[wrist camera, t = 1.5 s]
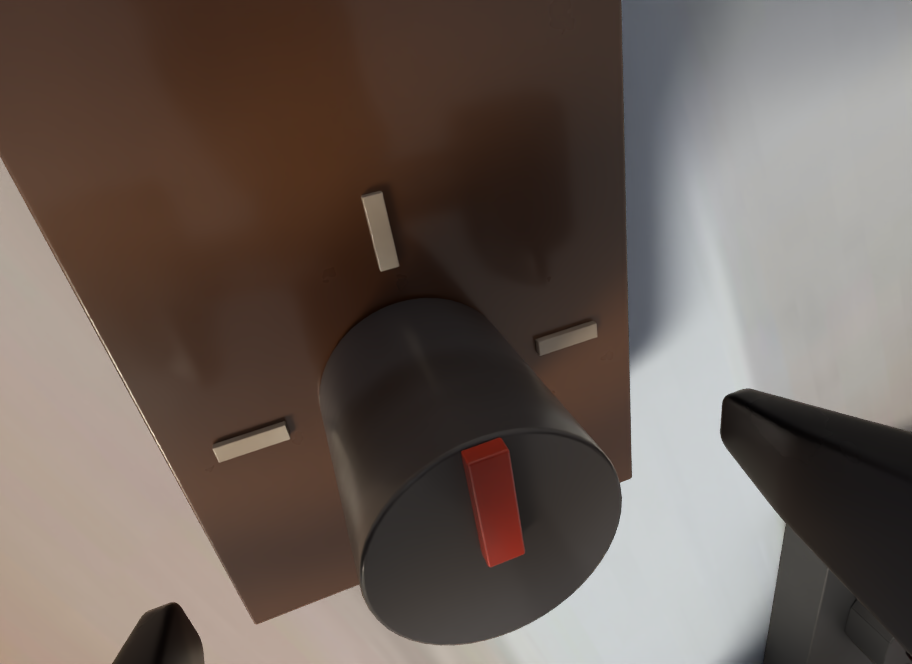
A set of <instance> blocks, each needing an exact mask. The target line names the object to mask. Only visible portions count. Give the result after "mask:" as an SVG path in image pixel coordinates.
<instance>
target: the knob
mask: <svg viewBox="0 0 912 664" xmlns="http://www.w3.org/2000/svg"><path fill="white" fill-rule="evenodd" d="M319 400H320V410H321V414H322V419H323V423H324V428H325V432H326V437H327V441H328V446H329V450H330V455H331V459H332V463H333V468H334V472H335V477H336V481H337V486H338V490H339V495H340V499H341V504H342V508H343V513H344V517H345V522H346V526H347V531H348V535H349V540H350V544H351V549H352V553H353V558H354V562H355V567H356V571H357V576H358V580H359V584H360V588H361V592H362V596H363V598H364V600H365V602H366V604H367V606H368V608H369V609H370V611H371V612H372V613H373V615H374V616H375V617H376V618H377V619H378V621H380V622H381V623H382V624H383V625H384V626H385V627H386V628H388V629H389V630H391V631H392V632H394V633H396V634H397V635H399V636H402V637H404V638H407V639H409V640H412V641H416V642H420V643H424V644H432V645H461V644H470V643H475V642H480V641H485V640H488V639H492V638H495V637H499V636H502V635H504V634H507V633H510V632H512V631H515V630H517V629H519V628H521V627H523V626H525V625H527V624H530V623H531V622H533V621H535V620H537V619H538V618H540V617H542V616H544V615H545V614H547V613H548V612H549V611H551V610H552V609H554V608H555V607H557V606H558V605H559V604H561V603H562V602H563V601H564V600H566V599H567V598H568V597H569V596H571V595H572V594H573V593H574V592H575V591H576V590H577V589H578V588H579V587H580V586H581V585H582V584H583V583H584V582H585V581H586V580H587V578H588V577H589V576H590V575H591V574H592V573H593V571H594V570H595V569H596V567H597V566H598V565H599V563H600V562H601V560H602V559H603V557H604V555H605V554H606V552H607V551H608V549H609V547H610V545H611V542H612V540H613V538H614V536H615V533H616V530H617V527H618V524H619V519H620V514H621V503H622V496H621V488H620V482H619V479H618V476H617V473H616V470H615V468H614V466H613V464H612V463H611V461H610V459H609V458H608V457H607V456H606V454H605V453H604V452H603V451H602V450H601V448H600V447H599V446H598V445H597V444H596V443H595V441H594V440H593V439H592V438H591V437H590V436H589V435H588V433H587V432H586V431H585V430H584V429H583V428H582V427H581V425H580V424H579V423H578V422H577V421H576V420H575V418H574V417H573V416H572V415H571V414H570V413H569V412H568V410H567V409H566V408H565V407H564V406H563V405H562V404H561V402H560V401H559V400H558V399H557V398H556V397H555V395H554V394H553V393H552V392H551V391H550V390H549V389H548V387H547V386H546V385H545V384H544V383H543V382H542V380H541V379H540V378H539V377H538V376H537V375H536V374H535V372H534V371H533V370H532V369H531V368H530V367H529V366H528V364H527V363H526V362H525V361H524V360H523V359H522V357H521V356H520V355H519V354H518V353H517V352H516V351H515V349H514V348H513V347H512V346H511V345H510V344H509V343H508V341H507V340H506V339H505V338H504V337H503V336H502V334H501V333H500V332H499V331H498V330H497V329H496V328H495V326H494V325H493V324H492V323H491V322H490V321H489V320H488V319H487V318H486V317H485V316H483V315H482V314H481V313H479V312H478V311H476V310H475V309H473V308H471V307H469V306H467V305H464V304H462V303H459V302H455V301H452V300H447V299H440V298H419V299H411V300H406V301H402V302H398V303H395V304H392V305H389V306H387V307H384V308H382V309H380V310H378V311H376V312H374V313H372V314H371V315H369V316H368V317H366V318H365V319H363V320H362V321H360V322H359V323H358V324H357V325H356V326H354V327H353V328H352V329H351V330H350V331H349V332H348V333H347V334H346V335H345V336H344V337H343V338H342V339H341V341H340V342H339V344H338V345H337V346H336V348H335V349H334V351H333V352H332V354H331V356H330V358H329V360H328V361H327V364H326V366H325V369H324V372H323V375H322V379H321V384H320V394H319Z"/></svg>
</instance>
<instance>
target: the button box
mask: <svg viewBox="0 0 912 664" xmlns="http://www.w3.org/2000/svg"><path fill="white" fill-rule="evenodd" d="M763 664H912V656H911V655H910V654H909V653H908V652H907V651H906V650H905V649H904V648H903V647H902V646H901V645H900V644H899V643H898V642H897V641H896V640H895V638H894V637H893V636H892V635H891V634H890V633H889V632H888V631H887V630H886V629H885V628H884V627H883V626H882V625H881V624H880V623H879V622H878V620H877V619H876V618H875V617H874V616H873V615H872V614H871V613H870V612H869V611H868V610H867V609H866V608H865V607H864V606H863V605H862V604H861V602H860V601H859V600H858V599H857V598H856V597H855V596H854V595H853V594H852V593H851V592H850V591H849V590H848V589H847V588H846V587H845V586H844V584H843V583H842V582H841V581H840V580H839V579H838V578H837V577H836V576H835V575H834V574H833V573H832V572H831V571H830V570H829V569H828V568H827V566H826V565H825V564H824V563H823V562H822V561H821V560H820V559H819V558H818V557H817V556H816V555H815V554H814V553H813V552H812V551H811V550H810V548H809V547H808V546H807V545H806V544H805V543H804V542H803V541H802V540H801V539H800V538H799V537H798V536H797V535H796V534H795V533H794V532H793V530H792V529H791V528H790V527H789V526H788V525H787V524H786V527H785V533H784V539H783V545H782V552H781V558H780V564H779V570H778V576H777V582H776V589H775V595H774V601H773V607H772V613H771V619H770V625H769V632H768V638H767V644H766V650H765V656H764V662H763Z"/></svg>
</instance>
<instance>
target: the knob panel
mask: <svg viewBox="0 0 912 664" xmlns="http://www.w3.org/2000/svg"><path fill="white" fill-rule="evenodd" d="M0 157H1V159H2V161H3V163H4V164H5V166H6V168H7V170H8V172H9V174H10V175H11V177H12V179H13V181H14V183H15V185H16V186H17V188H18V190H19V192H20V194H21V196H22V197H23V199H24V201H25V203H26V205H27V207H28V208H29V210H30V212H31V214H32V216H33V218H34V220H35V221H36V223H37V225H38V227H39V229H40V231H41V232H42V234H43V236H44V238H45V240H46V242H47V243H48V245H49V247H50V249H51V251H52V253H53V254H54V256H55V258H56V260H57V262H58V264H59V265H60V267H61V269H62V271H63V273H64V275H65V276H66V278H67V280H68V282H69V284H70V286H71V287H72V289H73V291H74V293H75V295H76V297H77V298H78V300H79V302H80V304H81V306H82V308H83V309H84V311H85V313H86V315H87V317H88V319H89V321H90V322H91V324H92V326H93V328H94V330H95V332H96V333H97V335H98V337H99V339H100V341H101V343H102V344H103V346H104V348H105V350H106V352H107V354H108V355H109V357H110V359H111V361H112V363H113V365H114V366H115V368H116V370H117V372H118V374H119V376H120V377H121V379H122V381H123V383H124V385H125V387H126V388H127V390H128V392H129V394H130V396H131V398H132V399H133V401H134V403H135V405H136V407H137V409H138V411H139V412H140V414H141V416H142V418H143V420H144V422H145V423H146V425H147V427H148V429H149V431H150V433H151V434H152V436H153V438H154V440H155V442H156V444H157V445H158V447H159V449H160V451H161V453H162V455H163V456H164V458H165V460H166V462H167V464H168V466H169V467H170V469H171V471H172V473H173V475H174V477H175V478H176V480H177V482H178V484H179V486H180V488H181V489H182V491H183V493H184V495H185V497H186V499H187V501H188V502H189V504H190V506H191V508H192V510H193V512H194V513H195V515H196V517H197V519H198V521H199V523H200V524H201V526H202V528H203V530H204V532H205V534H206V535H207V537H208V539H209V541H210V543H211V545H212V546H213V548H214V550H215V552H216V554H217V556H218V557H219V559H220V561H221V563H222V565H223V567H224V568H225V570H226V572H227V574H228V576H229V578H230V579H231V581H232V583H233V585H234V587H235V589H236V591H237V592H238V594H239V596H240V598H241V600H242V602H243V603H244V605H245V607H246V609H247V611H248V613H249V614H250V616H251V618H252V620H253V622H254V623H255V624H259V623H262V622H264V621H267V620H269V619H272V618H274V617H277V616H280V615H282V614H285V613H287V612H290V611H292V610H295V609H298V608H300V607H303V606H305V605H308V604H310V603H313V602H315V601H318V600H321V599H323V598H326V597H328V596H331V595H333V594H336V593H339V592H341V591H344V590H346V589H349V588H351V587H354V586H356V585H359V580H358V576H357V571H356V567H355V562H354V558H353V553H352V549H351V544H350V540H349V535H348V531H347V526H346V522H345V517H344V513H343V508H342V504H341V499H340V495H339V490H338V486H337V481H336V477H335V472H334V468H333V463H332V459H331V455H330V450H329V446H328V441H327V437H326V432H325V428H324V423H323V419H322V414H321V410H320V400H319V394H320V384H321V379H322V375H323V372H324V369H325V366H326V364H327V361H328V360H329V358H330V356H331V354H332V352H333V351H334V349H335V348H336V346H337V345H338V344H339V342H340V341H341V339H342V338H343V337H344V336H345V335H346V334H347V333H348V332H349V331H350V330H351V329H352V328H353V327H354V326H356V325H357V324H358V323H359V322H360V321H362V320H363V319H365V318H366V317H368V316H369V315H371V314H372V313H374V312H376V311H378V310H380V309H382V308H384V307H387V306H389V305H392V304H395V303H398V302H402V301H406V300H411V299H419V298H440V299H447V300H452V301H455V302H459V303H462V304H464V305H467V306H469V307H471V308H473V309H475V310H476V311H478V312H479V313H481V314H482V315H483V316H485V317H486V318H487V319H488V320H489V321H490V322H491V323H492V324H493V325H494V326H495V328H496V329H497V330H498V331H499V332H500V333H501V334H502V336H503V337H504V338H505V339H506V340H507V341H508V343H509V344H510V345H511V346H512V347H513V348H514V349H515V351H516V352H517V353H518V354H519V355H520V356H521V357H522V359H523V360H524V361H525V362H526V363H527V364H528V366H529V367H530V368H531V369H532V370H533V371H534V372H535V374H536V375H537V376H538V377H539V378H540V379H541V380H542V382H543V383H544V384H545V385H546V386H547V387H548V389H549V390H550V391H551V392H552V393H553V394H554V395H555V397H556V398H557V399H558V400H559V401H560V402H561V404H562V405H563V406H564V407H565V408H566V409H567V410H568V412H569V413H570V414H571V415H572V416H573V417H574V418H575V420H576V421H577V422H578V423H579V424H580V425H581V427H582V428H583V429H584V430H585V431H586V432H587V433H588V435H589V436H590V437H591V438H592V439H593V440H594V441H595V443H596V444H597V445H598V446H599V447H600V448H601V450H602V451H603V452H604V453H605V454H606V456H607V457H608V458H609V459H610V461H611V463H612V464H613V466H614V468H615V470H616V473H617V476H618V479H619V482H623V481H626V480H628V479H630V478H632V461H631V416H630V371H629V326H628V281H627V236H626V191H625V146H624V101H623V56H622V11H621V0H0Z"/></svg>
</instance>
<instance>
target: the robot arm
mask: <svg viewBox="0 0 912 664" xmlns="http://www.w3.org/2000/svg"><path fill="white" fill-rule="evenodd" d="M720 434H721V439H722V441H723V443H724V445H725V447H726V448H727V450H728V451H729V452H730V453H731V455H732V456H733V457H734V459H735V460H736V461H737V462H738V464H739V465H740V466H741V468H742V469H743V470H744V471H745V473H746V474H747V475H748V477H749V478H750V479H751V480H752V482H753V483H754V484H755V486H756V487H757V488H758V489H759V491H760V492H761V493H762V495H763V496H764V497H765V498H766V500H767V501H768V502H769V504H770V505H771V506H772V507H773V509H774V510H775V511H776V512H777V513H778V515H779V516H780V517H781V518H782V519H783V520H784V522H785V523H786V524H787V525H788V526H789V527H790V528H791V529H792V530H793V532H794V533H795V534H796V535H797V536H798V537H799V538H800V539H801V540H802V541H803V542H804V543H805V544H806V545H807V546H808V547H809V548H810V550H811V551H812V552H813V553H814V554H815V555H816V556H817V557H818V558H819V559H820V560H821V561H822V562H823V563H824V564H825V565H826V566H827V568H828V569H829V570H830V571H831V572H832V573H833V574H834V575H835V576H836V577H837V578H838V579H839V580H840V581H841V582H842V583H843V584H844V586H845V587H846V588H847V589H848V590H849V591H850V592H851V593H852V594H853V595H854V596H855V597H856V598H857V599H858V600H859V601H860V602H861V604H862V605H863V606H864V607H865V608H866V609H867V610H868V611H869V612H870V613H871V614H872V615H873V616H874V617H875V618H876V619H877V620H878V622H879V623H880V624H881V625H882V626H883V627H884V628H885V629H886V630H887V631H888V632H889V633H890V634H891V635H892V636H893V637H894V638H895V640H896V641H897V642H898V643H899V644H900V645H901V646H902V647H903V648H904V649H905V650H906V651H907V652H908V653H909V654H910V655H911V656H912V432H909V431H905V430H901V429H897V428H894V427H890V426H886V425H883V424H879V423H875V422H872V421H868V420H864V419H860V418H857V417H853V416H849V415H846V414H842V413H838V412H835V411H831V410H827V409H823V408H820V407H816V406H812V405H809V404H805V403H801V402H798V401H794V400H790V399H786V398H783V397H779V396H775V395H772V394H768V393H764V392H761V391H757V390H753V389H742V390H739V391H736V392H734V393H731V394H728V395H727V396H725V398H724V399H723V402H722V414H721V428H720ZM112 664H204V653H203V646H202V642H201V639H200V637H199V635H198V633H197V631H196V630H195V628H194V627H193V625H192V624H191V622H190V620H189V619H188V617H187V616H186V614H185V612H184V611H183V609H182V608H181V606H180V605H179V604H177V603H175V602H172V603H168V604H165V605H163V606H160V607H157V608H155V609H152V610H149V611H147V612H146V613H145V614H144V615H143V616H142V617H141V618H140V620H139V621H138V623H137V625H136V626H135V628H134V629H133V631H132V633H131V634H130V636H129V637H128V639H127V641H126V642H125V644H124V645H123V647H122V649H121V650H120V652H119V653H118V655H117V657H116V658H115V660H114V662H113V663H112Z"/></svg>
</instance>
